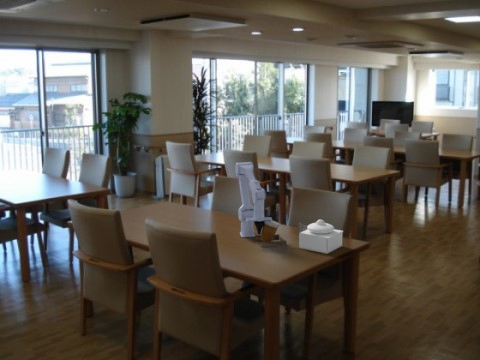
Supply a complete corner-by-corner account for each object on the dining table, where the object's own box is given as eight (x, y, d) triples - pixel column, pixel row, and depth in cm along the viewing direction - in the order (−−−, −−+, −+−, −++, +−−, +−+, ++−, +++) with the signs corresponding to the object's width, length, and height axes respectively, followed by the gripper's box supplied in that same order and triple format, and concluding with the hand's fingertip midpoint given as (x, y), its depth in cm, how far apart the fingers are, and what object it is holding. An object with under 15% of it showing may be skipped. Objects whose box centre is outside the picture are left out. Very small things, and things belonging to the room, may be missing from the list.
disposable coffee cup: (260, 241, 307) (267, 221, 306) (255, 236, 316) (262, 217, 315) (275, 245, 310) (282, 225, 309) (270, 240, 319) (276, 221, 318)
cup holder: (255, 239, 320) (255, 235, 319) (279, 238, 322) (279, 234, 322) (261, 247, 305) (261, 242, 305) (286, 245, 308) (286, 241, 307)
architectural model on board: (315, 238, 322) (316, 222, 320) (312, 239, 320) (312, 223, 318) (301, 234, 331) (302, 219, 329) (298, 235, 329) (298, 220, 327)
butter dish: (314, 240, 317) (315, 213, 314) (343, 246, 306) (343, 218, 303) (298, 248, 303) (299, 220, 300) (327, 253, 292) (328, 225, 289)
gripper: (247, 213, 304) (247, 236, 307) (273, 211, 307) (273, 235, 309) (245, 210, 311) (245, 233, 313) (270, 208, 313) (270, 231, 316)
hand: (259, 234), depth 312 cm, fingers closed
